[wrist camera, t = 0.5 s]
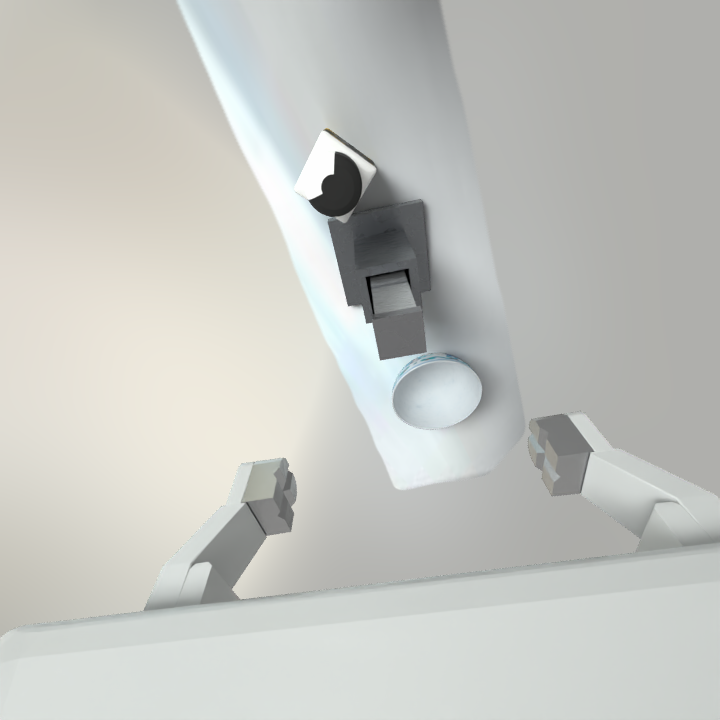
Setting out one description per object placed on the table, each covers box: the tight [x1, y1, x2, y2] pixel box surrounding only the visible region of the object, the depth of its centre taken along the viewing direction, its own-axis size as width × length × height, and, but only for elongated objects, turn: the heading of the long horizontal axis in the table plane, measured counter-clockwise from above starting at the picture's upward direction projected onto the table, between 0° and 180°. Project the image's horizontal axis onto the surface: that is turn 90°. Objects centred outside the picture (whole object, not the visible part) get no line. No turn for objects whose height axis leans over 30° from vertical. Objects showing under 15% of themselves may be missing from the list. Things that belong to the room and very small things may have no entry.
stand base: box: [328, 199, 431, 324], centre depth 47 cm, size 13×13×14 cm
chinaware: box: [392, 353, 482, 430], centre depth 62 cm, size 15×15×8 cm
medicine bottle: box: [294, 128, 377, 223], centre depth 42 cm, size 7×7×12 cm
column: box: [370, 269, 427, 360], centre depth 43 cm, size 5×5×22 cm
